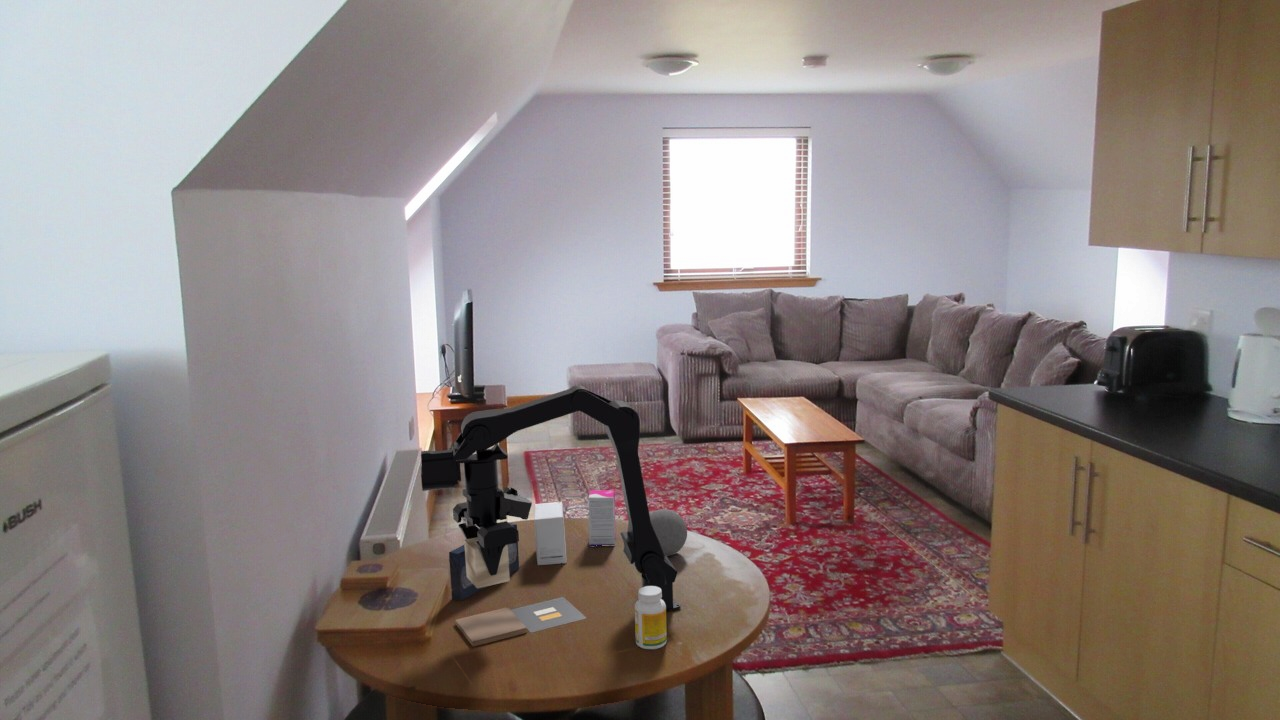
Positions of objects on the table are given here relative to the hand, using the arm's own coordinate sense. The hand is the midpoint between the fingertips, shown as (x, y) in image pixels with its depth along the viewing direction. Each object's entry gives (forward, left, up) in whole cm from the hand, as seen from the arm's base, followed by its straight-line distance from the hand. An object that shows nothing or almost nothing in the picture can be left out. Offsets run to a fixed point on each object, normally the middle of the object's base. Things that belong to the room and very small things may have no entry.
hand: (487, 568), depth 162 cm
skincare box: (+27, -23, -12) cm, 37 cm away
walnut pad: (0, 0, -11) cm, 11 cm away
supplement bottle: (-20, -22, -12) cm, 32 cm away
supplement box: (+28, -36, -12) cm, 47 cm away
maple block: (0, 0, -2) cm, 2 cm away
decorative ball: (+14, -44, -12) cm, 48 cm away
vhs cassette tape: (+20, -6, -12) cm, 24 cm away
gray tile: (0, -11, -11) cm, 16 cm away
